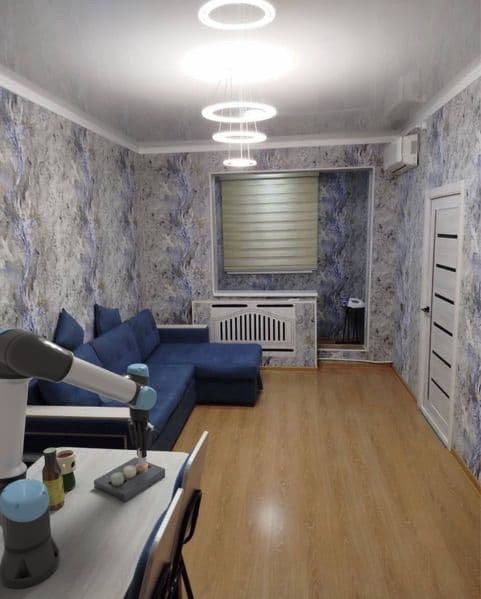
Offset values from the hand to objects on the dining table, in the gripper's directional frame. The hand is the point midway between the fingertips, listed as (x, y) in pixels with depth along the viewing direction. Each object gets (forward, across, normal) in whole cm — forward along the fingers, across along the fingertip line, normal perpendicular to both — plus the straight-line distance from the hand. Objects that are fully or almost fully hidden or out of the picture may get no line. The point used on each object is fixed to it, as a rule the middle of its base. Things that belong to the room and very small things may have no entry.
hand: (142, 464), depth 170 cm
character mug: (+4, +17, +21) cm, 27 cm away
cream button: (+2, 0, +6) cm, 6 cm away
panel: (+4, 0, +6) cm, 7 cm away
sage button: (+2, 0, +12) cm, 12 cm away
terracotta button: (+4, 0, 0) cm, 4 cm away
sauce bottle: (+4, +11, +30) cm, 32 cm away
